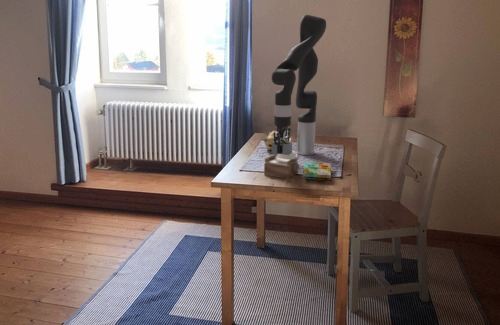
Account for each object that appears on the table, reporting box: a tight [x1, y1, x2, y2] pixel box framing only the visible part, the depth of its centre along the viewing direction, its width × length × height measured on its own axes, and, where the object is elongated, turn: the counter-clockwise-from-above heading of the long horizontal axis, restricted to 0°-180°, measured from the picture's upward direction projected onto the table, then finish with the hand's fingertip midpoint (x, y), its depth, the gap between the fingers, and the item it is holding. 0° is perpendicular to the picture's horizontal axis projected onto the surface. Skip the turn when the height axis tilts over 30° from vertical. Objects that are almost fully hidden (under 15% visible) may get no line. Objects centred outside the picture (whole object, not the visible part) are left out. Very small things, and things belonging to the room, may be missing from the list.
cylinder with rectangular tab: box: [276, 137, 297, 160], centre depth 235 cm, size 9×9×12 cm
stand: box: [263, 153, 299, 179], centre depth 218 cm, size 10×12×8 cm
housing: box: [271, 140, 293, 155], centre depth 216 cm, size 8×4×6 cm, turn 64°
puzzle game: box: [302, 161, 332, 181], centre depth 216 cm, size 12×5×20 cm
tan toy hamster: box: [264, 130, 281, 151], centre depth 262 cm, size 10×12×11 cm
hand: (281, 152), depth 217 cm, fingers closed on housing, 4 cm apart
